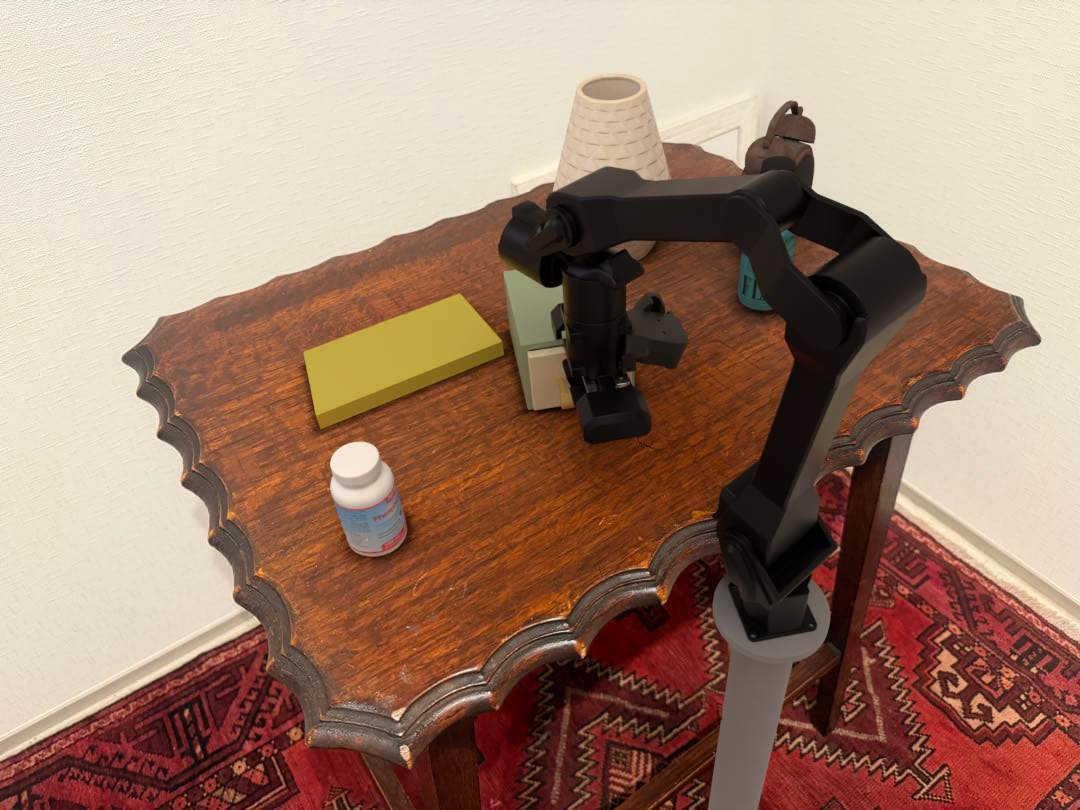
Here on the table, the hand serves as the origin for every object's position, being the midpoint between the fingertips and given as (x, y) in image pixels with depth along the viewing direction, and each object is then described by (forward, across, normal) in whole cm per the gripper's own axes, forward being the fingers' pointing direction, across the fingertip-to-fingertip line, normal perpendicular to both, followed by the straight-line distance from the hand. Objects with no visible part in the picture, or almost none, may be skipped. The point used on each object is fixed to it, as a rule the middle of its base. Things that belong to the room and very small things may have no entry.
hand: (599, 428), depth 90 cm
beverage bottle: (+5, +23, -26) cm, 35 cm away
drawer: (+4, +13, 0) cm, 14 cm away
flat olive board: (+5, +22, +21) cm, 31 cm away
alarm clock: (+5, +36, -32) cm, 48 cm away
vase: (+5, +42, -11) cm, 43 cm away
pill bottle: (+5, -5, +24) cm, 25 cm away
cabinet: (+5, +17, 0) cm, 18 cm away
